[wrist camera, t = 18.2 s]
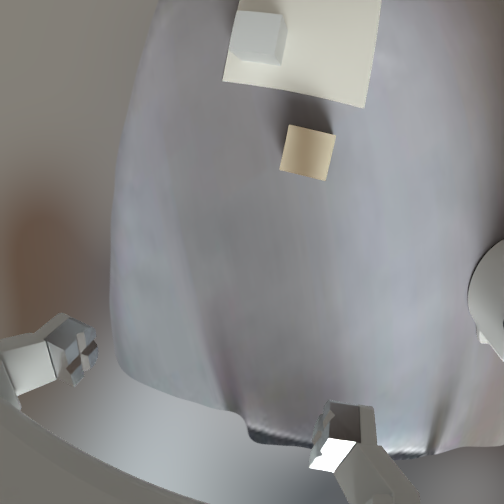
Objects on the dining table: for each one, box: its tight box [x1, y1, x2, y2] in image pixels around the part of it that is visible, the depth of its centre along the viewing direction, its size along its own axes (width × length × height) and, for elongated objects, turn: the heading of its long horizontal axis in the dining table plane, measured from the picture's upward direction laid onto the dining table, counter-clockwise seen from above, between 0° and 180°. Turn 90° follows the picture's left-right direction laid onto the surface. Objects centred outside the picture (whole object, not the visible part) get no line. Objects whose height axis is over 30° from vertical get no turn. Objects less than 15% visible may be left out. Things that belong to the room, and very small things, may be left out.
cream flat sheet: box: [223, 0, 382, 109], centre depth 27 cm, size 16×22×1 cm
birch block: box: [280, 125, 336, 181], centre depth 31 cm, size 4×4×6 cm
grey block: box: [228, 11, 288, 66], centre depth 28 cm, size 4×4×6 cm
